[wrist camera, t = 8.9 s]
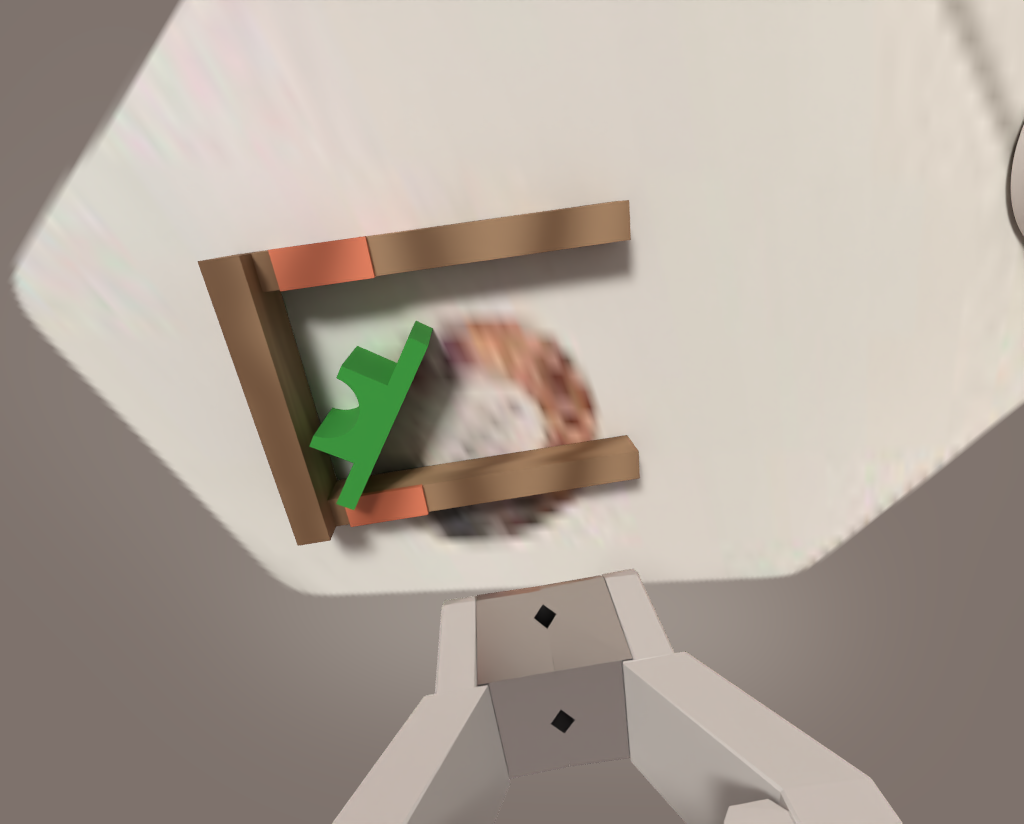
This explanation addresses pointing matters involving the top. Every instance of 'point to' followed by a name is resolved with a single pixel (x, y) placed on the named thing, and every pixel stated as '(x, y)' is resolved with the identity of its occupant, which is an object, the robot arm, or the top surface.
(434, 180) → the top surface
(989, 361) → the top surface
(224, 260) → the guide channel
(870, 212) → the top surface
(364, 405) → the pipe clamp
